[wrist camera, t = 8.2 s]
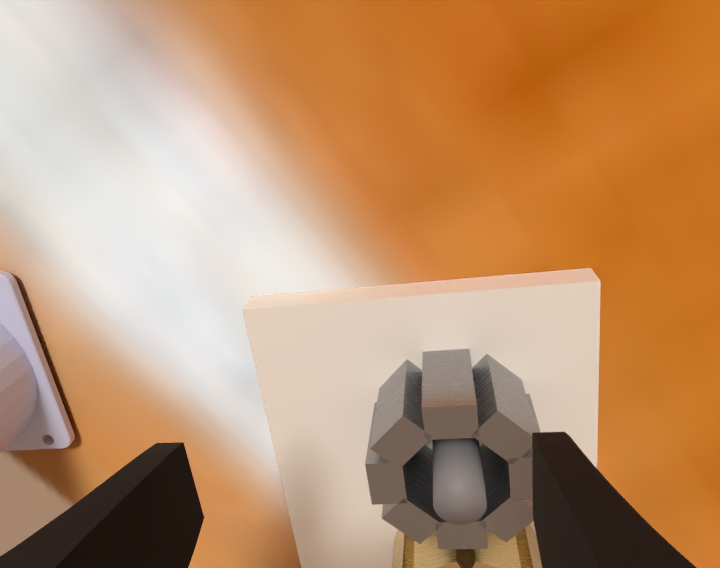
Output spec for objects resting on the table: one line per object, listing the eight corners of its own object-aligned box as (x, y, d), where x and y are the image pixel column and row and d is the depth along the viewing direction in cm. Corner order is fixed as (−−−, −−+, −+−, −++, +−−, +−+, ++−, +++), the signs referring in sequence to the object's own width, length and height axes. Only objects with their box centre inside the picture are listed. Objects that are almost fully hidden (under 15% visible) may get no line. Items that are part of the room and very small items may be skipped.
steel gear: (386, 480, 22) (379, 550, 19) (367, 355, 20) (355, 411, 17) (532, 474, 21) (550, 547, 18) (527, 344, 19) (546, 400, 16)
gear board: (320, 607, 27) (296, 727, 22) (252, 296, 21) (199, 367, 16) (586, 608, 25) (623, 739, 20) (590, 267, 19) (643, 338, 14)
